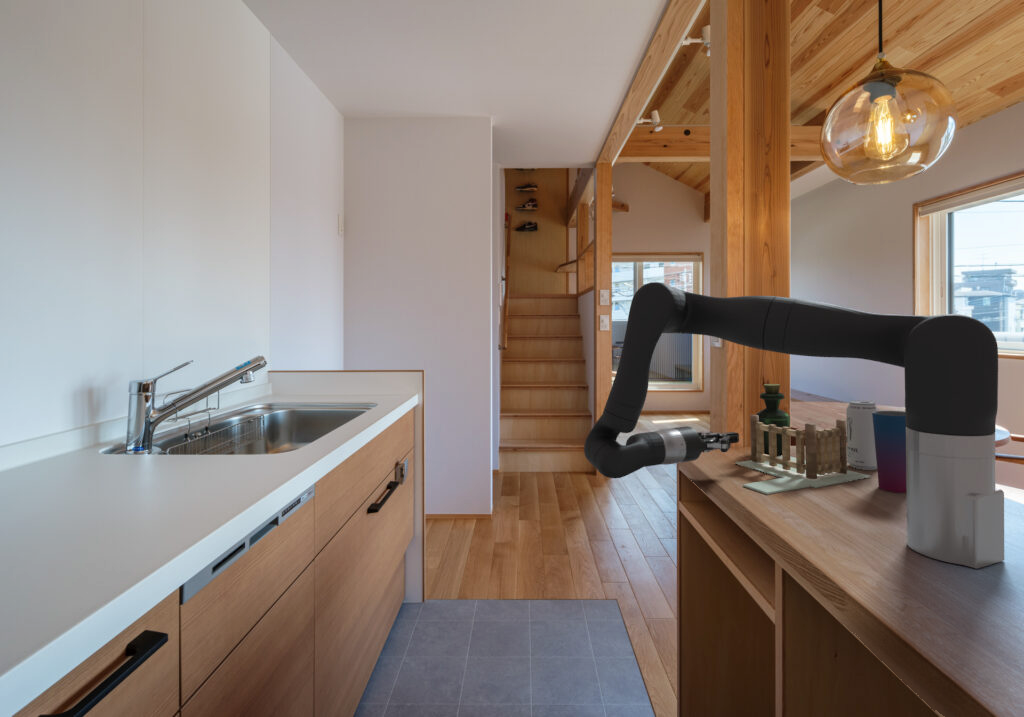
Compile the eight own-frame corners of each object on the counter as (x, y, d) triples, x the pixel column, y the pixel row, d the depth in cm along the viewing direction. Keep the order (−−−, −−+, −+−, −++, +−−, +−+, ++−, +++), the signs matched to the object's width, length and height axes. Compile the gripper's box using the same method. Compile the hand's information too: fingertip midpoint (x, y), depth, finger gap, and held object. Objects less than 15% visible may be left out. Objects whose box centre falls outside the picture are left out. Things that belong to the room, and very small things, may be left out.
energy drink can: (843, 463, 114) (842, 400, 113) (874, 464, 112) (873, 400, 111) (852, 470, 108) (851, 403, 108) (884, 471, 106) (883, 403, 106)
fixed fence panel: (849, 475, 104) (848, 420, 104) (812, 482, 101) (811, 425, 100) (840, 473, 106) (839, 419, 106) (803, 479, 103) (802, 423, 102)
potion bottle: (749, 450, 130) (747, 384, 129) (777, 448, 131) (776, 382, 130) (768, 457, 122) (766, 386, 121) (798, 455, 122) (797, 385, 122)
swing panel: (808, 473, 104) (807, 423, 103) (801, 474, 103) (800, 423, 103) (755, 459, 117) (754, 414, 117) (749, 460, 116) (748, 415, 116)
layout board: (870, 477, 102) (870, 475, 102) (771, 496, 93) (771, 493, 93) (785, 456, 122) (785, 454, 122) (696, 470, 113) (696, 468, 113)
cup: (925, 494, 91) (925, 415, 90) (884, 494, 92) (883, 415, 91) (904, 484, 97) (903, 410, 97) (866, 483, 99) (865, 410, 98)
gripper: (693, 433, 98) (759, 424, 104) (653, 424, 110) (714, 417, 116) (694, 469, 98) (760, 459, 104) (655, 456, 111) (715, 448, 116)
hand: (736, 436), depth 110 cm, fingers closed
